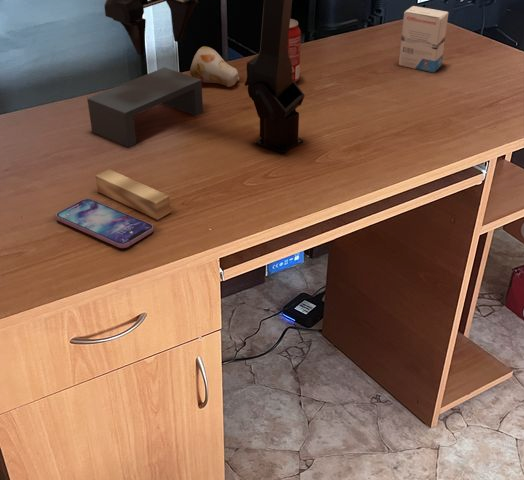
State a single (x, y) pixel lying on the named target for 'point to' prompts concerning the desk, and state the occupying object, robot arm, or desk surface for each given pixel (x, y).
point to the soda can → (294, 48)
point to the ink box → (423, 38)
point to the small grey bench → (142, 102)
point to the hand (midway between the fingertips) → (159, 48)
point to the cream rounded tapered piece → (212, 68)
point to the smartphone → (105, 223)
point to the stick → (133, 194)
